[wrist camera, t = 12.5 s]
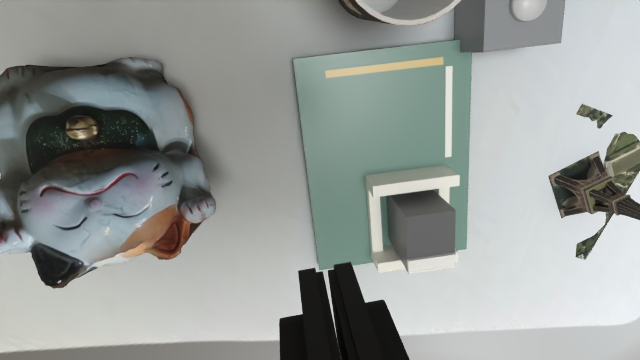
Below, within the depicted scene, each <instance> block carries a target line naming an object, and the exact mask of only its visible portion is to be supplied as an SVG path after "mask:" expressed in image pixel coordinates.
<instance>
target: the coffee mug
mask: <svg viewBox="0 0 640 360" xmlns="http://www.w3.org/2000/svg"><path fill="white" fill-rule="evenodd" d="M460 1H461V0H339V2H340V3H341V5H342V6H343V7H344V9H345V10H347V11H348V12H349V13H350V14H352V15H354V16H355V17H357V18H361V19H364V20H370V21H376V22H382V23H388V24H394V25H406V26H411V25H418V24H424V23H427V22H429V21H432V20H435V19H438V18H439V17H441V16H442V15H444V14H446V13H447V12H449V11H450V10H452V9H453V8H454V7H455V6H456V5H457V4H458V3H459V2H460Z"/></svg>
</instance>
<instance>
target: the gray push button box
mask: <svg viewBox="0 0 640 360" xmlns="http://www.w3.org/2000/svg"><path fill="white" fill-rule="evenodd" d="M564 8H565V0H461V1H460V2H459V3H458V4H457V5H456V6H455V23H454V40H461V42H460V52H488V51H497V50H505V49H514V48H522V47H531V46H539V45H548V44H557V43H561V37H562V27H563V17H564Z"/></svg>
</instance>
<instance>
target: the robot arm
mask: <svg viewBox="0 0 640 360" xmlns="http://www.w3.org/2000/svg"><path fill="white" fill-rule="evenodd" d="M298 273H299V283H300V292H301V302H302V311H303V314H301V315H296V316H290V317H285V318H280V322H279V326H280V360H409V357H408V355H407V353H406V350H405V348H404V346H403V343H402V341H401V339H400V336H399V334H398V331H397V329H396V327H395V324H394V322H393V320H392V317H391V315H390V312H389V310H388V308H387V305H386V303H385V301H384V300H379V301H373V302H368V303H365V301H364V299H363V296H362V293H361V290H360V287H359V284H358V281H357V278H356V275H355V272H354V270H353V267H352V264H351V262H346V263H341V264H335V265H334V269H333V270H328V276H329V283H330V290H331V298H332V305H333V312H334V320H335V327H336V333H335V328H334V323H333V318H332V314H331V309H330V304H329V299H328V295H327V290H326V285H325V280H324V276H323V271H322V272H316V270H315V268H312V269H306V270H300V271H298ZM336 334H337V337H336ZM337 341H338V342H337ZM338 346H339V347H338ZM339 351H340V352H339ZM340 356H341V357H340Z"/></svg>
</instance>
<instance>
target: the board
mask: <svg viewBox="0 0 640 360" xmlns="http://www.w3.org/2000/svg"><path fill="white" fill-rule="evenodd" d="M460 42H461V40H452V41H443V42H435V43H426V44H417V45H409V46H400V47H391V48H382V49H374V50H365V51H356V52H347V53H339V54H330V55H321V56H313V57H304V58H295V59H293V65H294V73H295V81H296V89H297V97H298V105H299V113H300V121H301V129H302V137H303V145H304V153H305V161H306V169H307V177H308V185H309V193H310V201H311V209H312V216H313V224H314V232H315V240H316V248H317V256H318V264H319V270H324V269H331V268H334V265H335V264H341V263H346V262H351V264H352V265H359V264H366V263H372V262H374V264H375V266H376V269H377V271H378V273H382V272H389V271H396V270H403V269H406V268H405V266H404V265H403V263H402V261H401V259H400V258H399V256H398V254H397V252H396V250H395V249H394V247H393V245H392V243H391V242H390V240H389V238H388V221H387V202H386V196H388V195H395V194H403V193H410V192H417V191H425V190H432V189H433V190H434V191H435V192H436V193H437V194H439V195H440V196H441V197H442V198H443V199H444V200H445V201H446V202H447V203H448V204H450V205H451V206H452V207H453V208H454V209H455V210H456V223H455V253H456V254H457V262H458V251H457V250H463V249H466V242H467V206H468V171H469V135H470V100H471V64H472V52H460Z"/></svg>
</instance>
